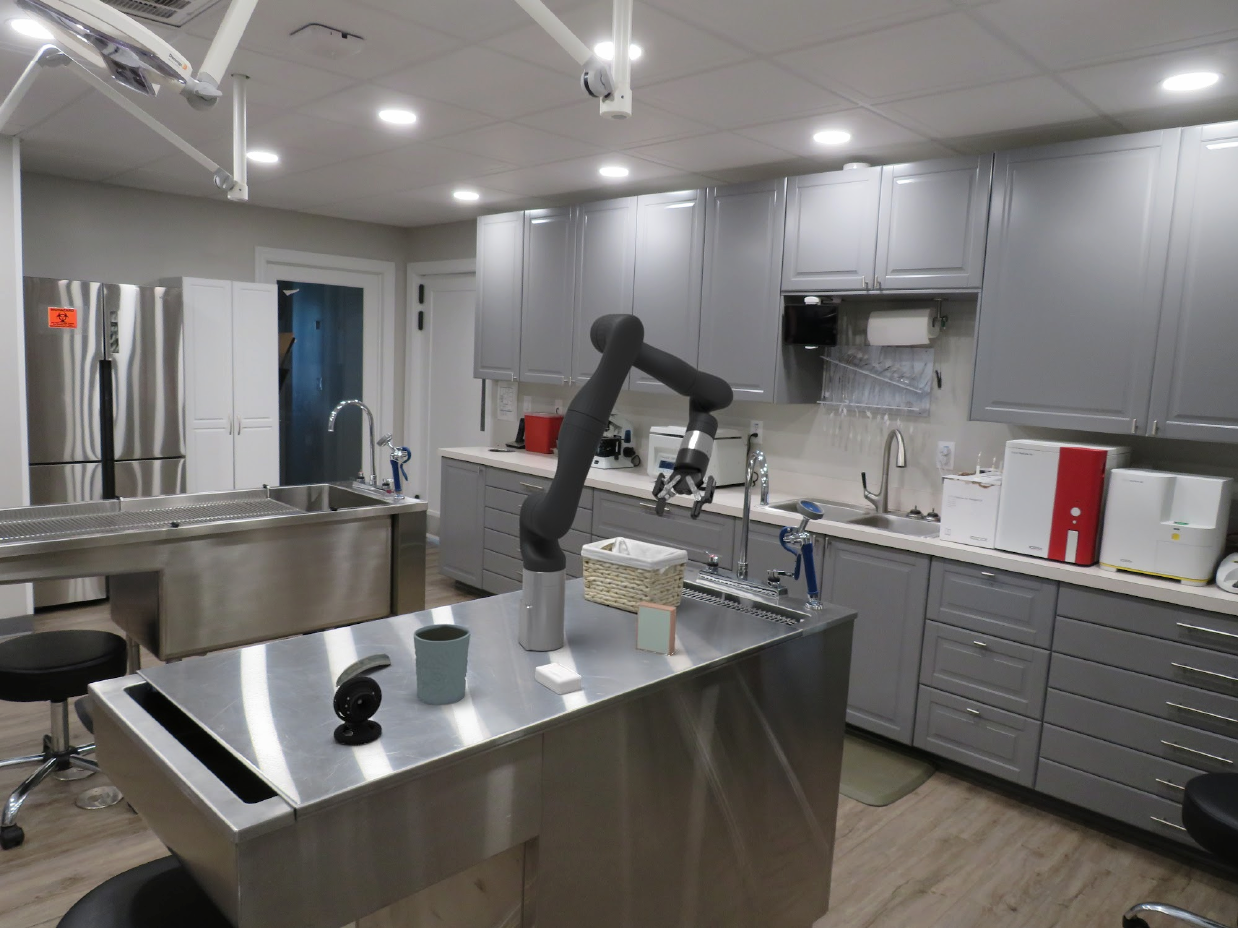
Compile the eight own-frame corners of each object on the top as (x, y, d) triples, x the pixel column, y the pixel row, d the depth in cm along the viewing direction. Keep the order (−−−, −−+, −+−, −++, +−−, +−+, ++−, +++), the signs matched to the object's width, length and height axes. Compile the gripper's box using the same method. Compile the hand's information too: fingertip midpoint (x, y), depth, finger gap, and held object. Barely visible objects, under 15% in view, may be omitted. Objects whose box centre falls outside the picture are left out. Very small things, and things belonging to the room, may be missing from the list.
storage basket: (576, 599, 216) (578, 543, 214) (616, 587, 228) (618, 535, 226) (649, 620, 201) (652, 560, 199) (688, 606, 213) (690, 550, 211)
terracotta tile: (640, 645, 183) (642, 601, 181) (674, 652, 179) (676, 607, 178) (635, 648, 180) (637, 604, 179) (669, 655, 177) (671, 610, 176)
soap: (583, 690, 158) (583, 675, 157) (558, 696, 154) (559, 681, 154) (557, 674, 165) (557, 660, 164) (533, 680, 161) (534, 665, 161)
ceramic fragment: (338, 689, 154) (338, 669, 154) (319, 682, 157) (319, 663, 156) (394, 668, 166) (394, 649, 166) (376, 662, 169) (376, 644, 168)
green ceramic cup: (414, 708, 146) (414, 642, 145) (411, 686, 156) (412, 624, 154) (472, 703, 149) (473, 639, 148) (466, 682, 159) (467, 621, 157)
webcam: (341, 750, 130) (340, 689, 129) (326, 732, 136) (326, 673, 135) (389, 738, 135) (389, 679, 133) (373, 721, 141) (373, 664, 139)
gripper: (660, 445, 193) (641, 506, 186) (717, 447, 186) (699, 511, 179) (672, 462, 199) (654, 521, 192) (727, 464, 192) (710, 527, 185)
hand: (675, 516), depth 185 cm, fingers open, 8 cm apart
